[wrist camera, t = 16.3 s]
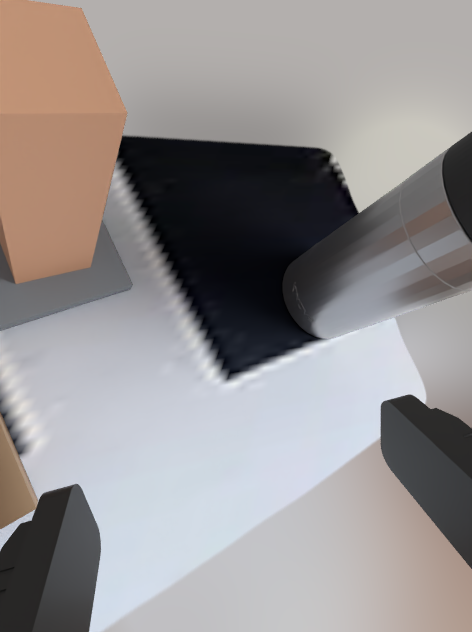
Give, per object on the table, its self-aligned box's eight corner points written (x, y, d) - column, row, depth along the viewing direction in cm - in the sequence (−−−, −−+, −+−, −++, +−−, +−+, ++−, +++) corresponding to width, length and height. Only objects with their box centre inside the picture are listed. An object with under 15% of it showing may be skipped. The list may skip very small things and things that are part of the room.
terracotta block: (66, 208, 27) (81, 8, 15) (90, 267, 27) (127, 113, 14) (-9, 218, 25) (-73, -15, 12) (15, 284, 24) (-23, 114, 11)
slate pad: (79, 181, 29) (80, 173, 29) (130, 289, 29) (132, 284, 28) (-70, 202, 24) (-74, 193, 23) (-13, 334, 23) (-15, 330, 23)
